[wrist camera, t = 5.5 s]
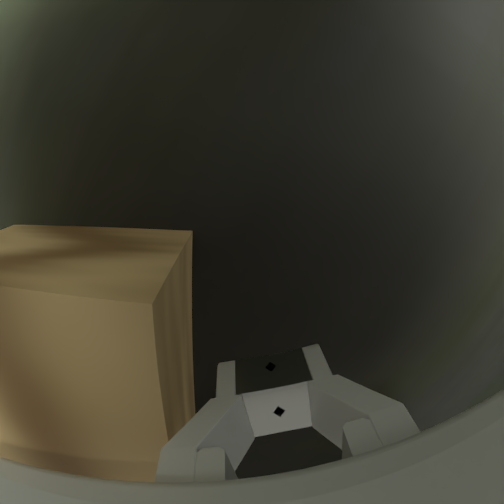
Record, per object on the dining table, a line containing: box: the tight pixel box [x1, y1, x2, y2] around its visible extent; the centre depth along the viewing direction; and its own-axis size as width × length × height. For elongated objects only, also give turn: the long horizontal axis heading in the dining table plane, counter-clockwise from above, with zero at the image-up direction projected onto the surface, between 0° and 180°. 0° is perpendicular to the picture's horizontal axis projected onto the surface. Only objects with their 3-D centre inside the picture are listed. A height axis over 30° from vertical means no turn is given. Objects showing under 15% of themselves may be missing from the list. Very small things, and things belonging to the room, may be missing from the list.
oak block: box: [0, 225, 195, 482], centre depth 9 cm, size 8×10×6 cm
